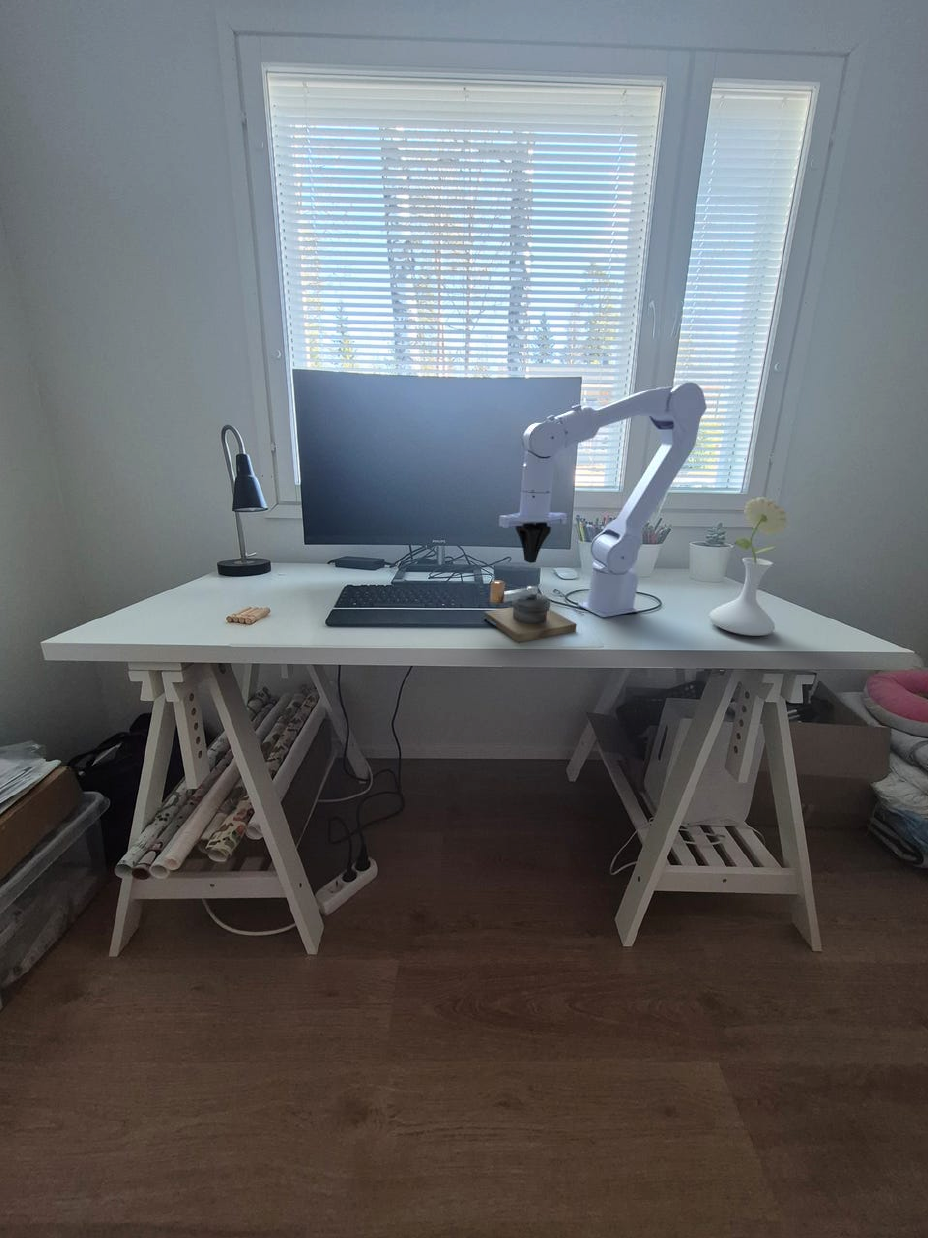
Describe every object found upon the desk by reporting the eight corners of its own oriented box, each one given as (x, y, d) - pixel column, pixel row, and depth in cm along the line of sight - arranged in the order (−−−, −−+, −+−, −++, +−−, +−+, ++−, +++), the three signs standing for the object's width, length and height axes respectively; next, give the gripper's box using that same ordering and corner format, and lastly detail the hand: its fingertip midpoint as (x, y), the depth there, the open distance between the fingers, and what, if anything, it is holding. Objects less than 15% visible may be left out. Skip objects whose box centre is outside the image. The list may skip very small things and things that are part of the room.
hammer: (531, 594, 89) (533, 574, 88) (539, 598, 87) (541, 577, 86) (487, 602, 84) (488, 581, 83) (495, 606, 82) (496, 585, 81)
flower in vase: (786, 641, 87) (830, 505, 78) (727, 641, 86) (765, 502, 77) (743, 616, 99) (777, 494, 90) (691, 615, 99) (720, 493, 89)
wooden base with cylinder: (538, 610, 98) (540, 584, 96) (575, 631, 88) (579, 603, 86) (483, 618, 92) (485, 592, 90) (517, 642, 82) (520, 613, 80)
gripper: (554, 488, 95) (547, 553, 100) (492, 489, 89) (488, 559, 94) (577, 492, 89) (568, 561, 94) (513, 494, 83) (507, 568, 88)
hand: (529, 561), depth 94 cm, fingers closed
